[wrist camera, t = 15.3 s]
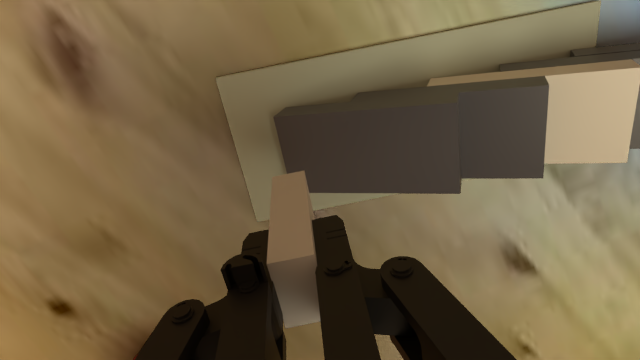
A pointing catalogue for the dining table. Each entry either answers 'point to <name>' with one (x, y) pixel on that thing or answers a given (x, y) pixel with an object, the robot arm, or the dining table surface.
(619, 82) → the cream domino
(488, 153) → the domino
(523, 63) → the domino
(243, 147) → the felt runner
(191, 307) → the robot arm
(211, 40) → the dining table surface
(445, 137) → the domino
